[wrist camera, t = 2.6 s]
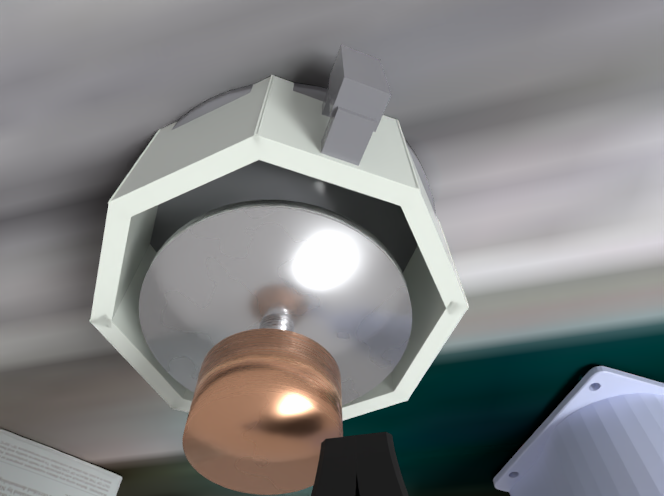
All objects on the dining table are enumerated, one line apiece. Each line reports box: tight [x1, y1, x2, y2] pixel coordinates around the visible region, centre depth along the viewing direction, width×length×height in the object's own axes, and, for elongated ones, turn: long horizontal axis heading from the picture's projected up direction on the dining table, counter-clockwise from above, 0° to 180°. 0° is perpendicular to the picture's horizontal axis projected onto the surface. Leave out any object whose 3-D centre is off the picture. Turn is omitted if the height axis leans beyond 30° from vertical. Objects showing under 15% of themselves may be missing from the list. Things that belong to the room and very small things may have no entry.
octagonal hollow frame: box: [89, 45, 469, 421], centre depth 18 cm, size 12×11×5 cm
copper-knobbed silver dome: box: [139, 200, 412, 495], centre depth 14 cm, size 8×8×4 cm
